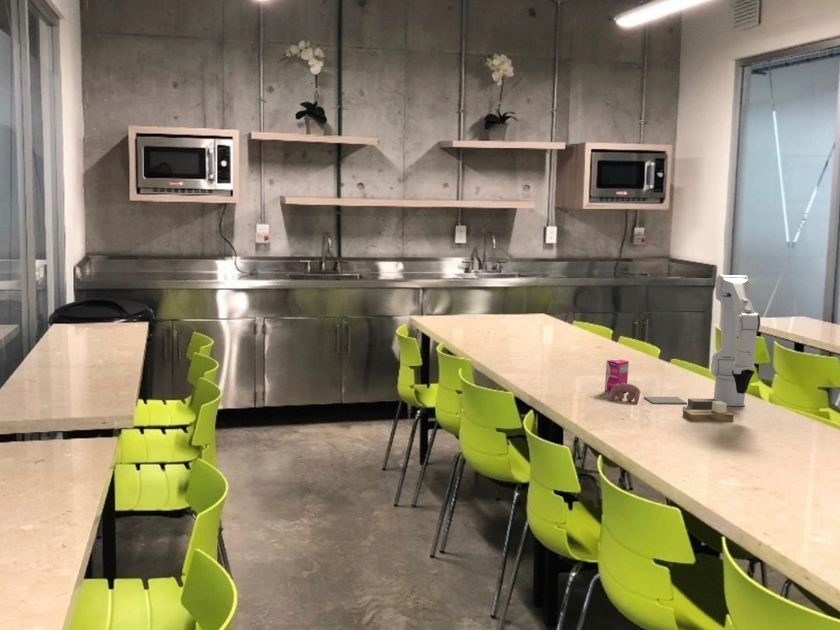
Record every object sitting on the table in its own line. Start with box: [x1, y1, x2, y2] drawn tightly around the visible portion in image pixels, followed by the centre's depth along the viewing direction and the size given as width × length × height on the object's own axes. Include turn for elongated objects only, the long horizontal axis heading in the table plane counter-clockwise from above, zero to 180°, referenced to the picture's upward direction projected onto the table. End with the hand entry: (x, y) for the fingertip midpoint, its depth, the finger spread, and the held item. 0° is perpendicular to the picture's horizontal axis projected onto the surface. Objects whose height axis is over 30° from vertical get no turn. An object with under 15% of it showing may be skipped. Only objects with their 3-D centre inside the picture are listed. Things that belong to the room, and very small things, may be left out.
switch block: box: [682, 409, 734, 422], centre depth 268 cm, size 14×6×2 cm, turn 97°
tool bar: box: [682, 397, 717, 411], centre depth 278 cm, size 11×4×4 cm, turn 97°
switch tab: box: [712, 401, 728, 413], centre depth 268 cm, size 3×4×3 cm
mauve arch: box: [609, 383, 641, 404], centre depth 288 cm, size 10×5×7 cm, turn 65°
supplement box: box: [604, 358, 630, 394], centre depth 300 cm, size 6×6×12 cm
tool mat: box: [643, 396, 688, 405], centre depth 289 cm, size 12×8×1 cm, turn 97°
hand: (741, 392), depth 268 cm, fingers closed
